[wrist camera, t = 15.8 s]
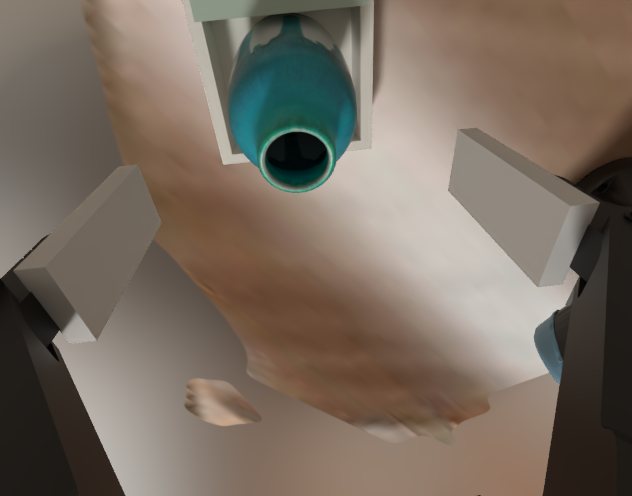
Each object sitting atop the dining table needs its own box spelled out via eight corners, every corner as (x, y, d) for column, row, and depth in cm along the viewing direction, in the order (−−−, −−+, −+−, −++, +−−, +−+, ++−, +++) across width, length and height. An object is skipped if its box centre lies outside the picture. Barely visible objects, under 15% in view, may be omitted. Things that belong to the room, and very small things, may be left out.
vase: (355, 24, 34) (407, 113, 21) (317, 121, 41) (338, 232, 28) (249, -22, 30) (231, 50, 17) (228, 92, 37) (204, 203, 24)
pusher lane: (361, 132, 42) (375, 154, 36) (229, 147, 42) (220, 171, 35) (360, -124, 29) (383, -160, 23) (170, -107, 29) (140, -139, 23)
